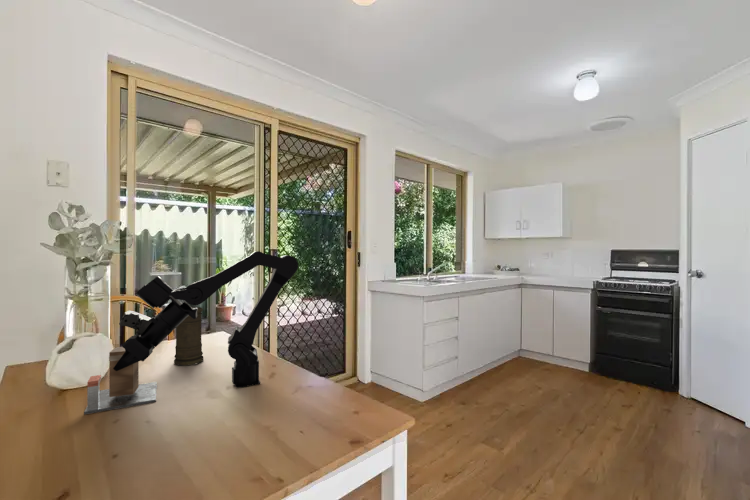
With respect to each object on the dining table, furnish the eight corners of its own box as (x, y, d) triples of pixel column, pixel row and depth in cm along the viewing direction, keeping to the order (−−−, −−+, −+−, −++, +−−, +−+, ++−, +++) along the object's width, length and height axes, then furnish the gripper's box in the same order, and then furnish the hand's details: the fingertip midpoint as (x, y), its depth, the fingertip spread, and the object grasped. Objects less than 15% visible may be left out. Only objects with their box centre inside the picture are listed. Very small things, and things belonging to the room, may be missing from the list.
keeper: (156, 383, 101) (156, 358, 101) (155, 401, 89) (155, 372, 89) (94, 393, 94) (94, 366, 94) (84, 414, 82) (84, 383, 82)
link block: (138, 387, 95) (138, 345, 95) (133, 394, 90) (133, 350, 90) (115, 389, 93) (115, 347, 93) (109, 397, 88) (109, 352, 88)
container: (195, 366, 117) (195, 310, 117) (167, 366, 117) (168, 310, 117) (208, 357, 126) (208, 306, 126) (183, 357, 126) (183, 306, 126)
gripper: (151, 295, 102) (104, 337, 98) (132, 304, 84) (74, 356, 81) (182, 321, 105) (138, 363, 101) (170, 335, 87) (116, 387, 83)
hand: (118, 366), depth 91 cm, fingers closed on link block, 5 cm apart
